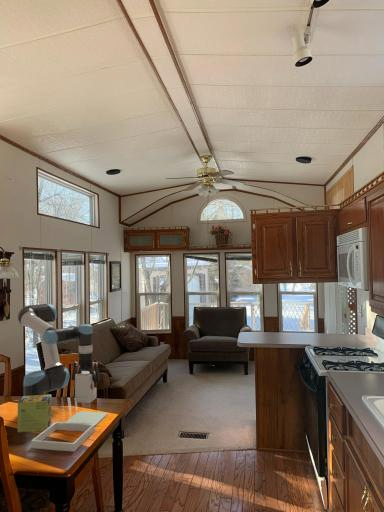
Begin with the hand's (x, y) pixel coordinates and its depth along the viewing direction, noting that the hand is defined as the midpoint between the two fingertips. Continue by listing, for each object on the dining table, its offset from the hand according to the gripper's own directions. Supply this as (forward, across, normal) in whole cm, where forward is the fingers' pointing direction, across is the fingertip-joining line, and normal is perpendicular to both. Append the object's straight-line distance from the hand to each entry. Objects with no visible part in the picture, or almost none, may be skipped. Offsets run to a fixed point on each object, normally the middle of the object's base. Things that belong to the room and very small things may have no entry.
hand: (86, 392), depth 216 cm
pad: (+15, 0, 0) cm, 15 cm away
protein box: (+15, -23, -13) cm, 31 cm away
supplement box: (+4, 0, 0) cm, 4 cm away
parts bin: (+15, 0, -24) cm, 28 cm away
